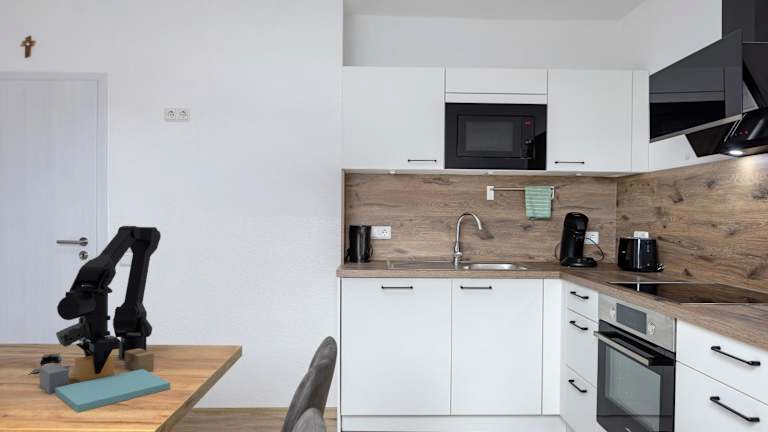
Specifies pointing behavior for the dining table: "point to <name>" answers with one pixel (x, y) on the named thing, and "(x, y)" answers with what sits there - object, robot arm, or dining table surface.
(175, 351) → the dining table surface
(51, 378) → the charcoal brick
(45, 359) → the black angular block
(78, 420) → the dining table surface
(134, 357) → the walnut brick
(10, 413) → the dining table surface
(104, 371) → the orange brick
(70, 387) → the teal board
